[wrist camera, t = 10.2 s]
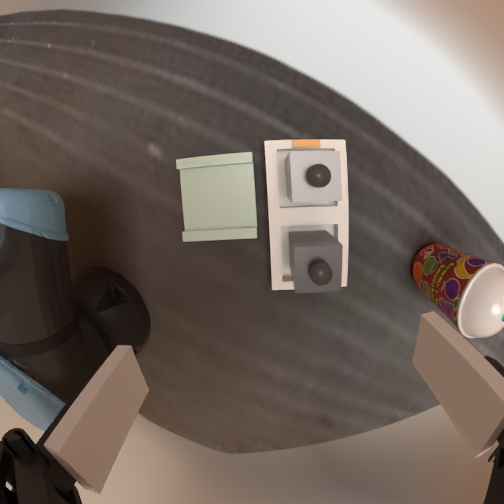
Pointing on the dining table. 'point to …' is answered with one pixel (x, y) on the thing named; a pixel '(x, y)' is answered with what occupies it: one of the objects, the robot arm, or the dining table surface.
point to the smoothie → (462, 288)
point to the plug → (313, 176)
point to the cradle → (218, 197)
